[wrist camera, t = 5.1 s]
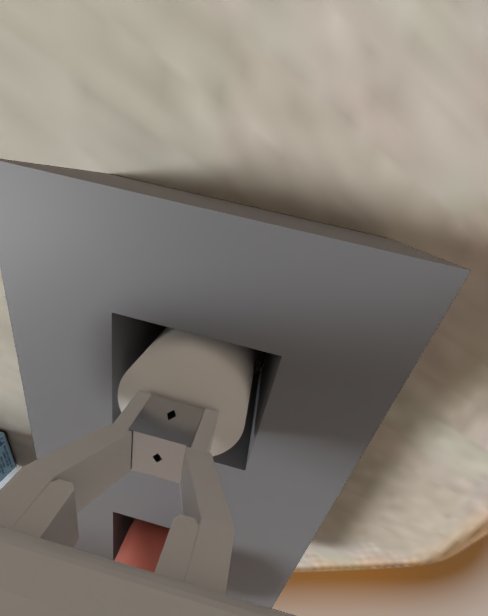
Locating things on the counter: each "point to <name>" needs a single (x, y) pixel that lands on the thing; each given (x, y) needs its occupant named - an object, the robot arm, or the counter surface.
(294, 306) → the control box
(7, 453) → the gum box
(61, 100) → the counter surface
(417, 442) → the counter surface
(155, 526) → the red button
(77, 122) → the counter surface
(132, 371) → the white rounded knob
